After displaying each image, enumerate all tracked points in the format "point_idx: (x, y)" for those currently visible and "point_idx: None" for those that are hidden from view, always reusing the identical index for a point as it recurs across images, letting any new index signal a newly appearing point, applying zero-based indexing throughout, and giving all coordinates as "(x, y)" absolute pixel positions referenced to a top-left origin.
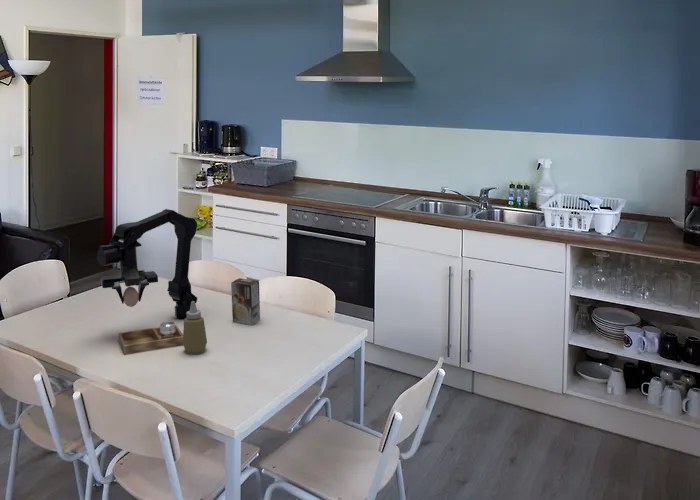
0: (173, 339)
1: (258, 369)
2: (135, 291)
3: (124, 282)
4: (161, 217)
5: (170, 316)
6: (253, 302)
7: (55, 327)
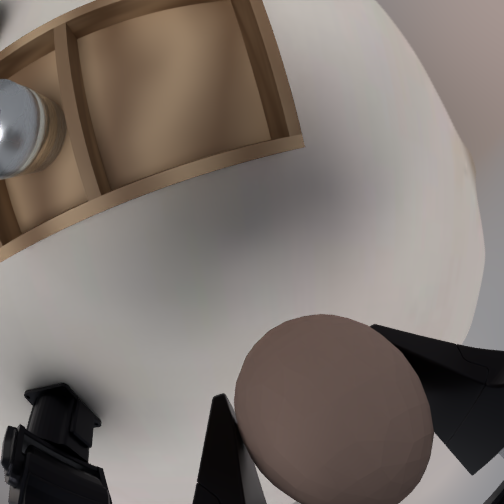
0: (4, 52)
1: None
2: (312, 481)
3: (501, 491)
4: None
5: (117, 420)
6: None
7: (433, 312)
